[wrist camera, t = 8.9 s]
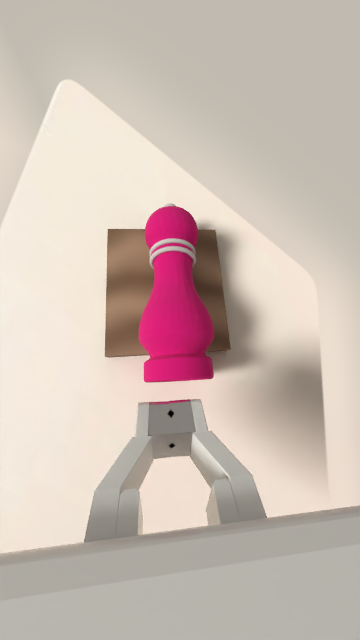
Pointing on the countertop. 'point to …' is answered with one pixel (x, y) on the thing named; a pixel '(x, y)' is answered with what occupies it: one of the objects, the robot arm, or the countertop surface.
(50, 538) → the countertop surface
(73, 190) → the countertop surface
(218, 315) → the walnut board
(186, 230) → the pepper mill
